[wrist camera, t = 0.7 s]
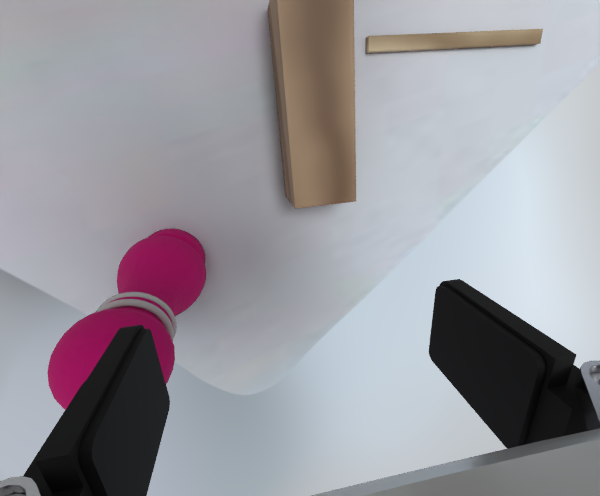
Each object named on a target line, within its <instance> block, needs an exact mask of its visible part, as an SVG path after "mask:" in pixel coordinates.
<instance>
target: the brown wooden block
mask: <svg viewBox="0 0 600 496" xmlns="http://www.w3.org/2000/svg"><path fill="white" fill-rule="evenodd" d="M268 17H269V27H270V37H271V48H272V58H273V69H274V79H275V89H276V100H277V110H278V121H279V131H280V142H281V152H282V162H283V173H284V183H285V194H286V197H287V198H288V200H289V201H290V202H291V204H292V205H293V206H294V208H295V209H296V208H304V207H312V206H321V205H329V204H337V203H345V202H354V201H356V153H355V70H354V0H270V1H269V6H268Z"/></svg>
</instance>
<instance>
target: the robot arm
mask: <svg viewBox="0 0 600 496" xmlns="http://www.w3.org/2000/svg"><path fill="white" fill-rule="evenodd" d="M429 354H430V357H431V360H432V361H433V362H434V363H435V365H436V366H437V367H438V368H439V369H440V370H441V372H442V373H443V374H444V375H445V376H446V377H447V379H448V380H449V381H450V382H451V383H452V385H453V386H454V387H455V388H456V389H457V390H458V391H459V393H460V394H461V395H462V396H463V397H464V399H465V400H466V401H467V402H468V403H469V404H470V406H471V407H472V408H473V409H474V410H475V412H476V413H477V414H478V415H479V416H480V417H481V419H482V420H483V421H484V422H485V423H486V424H487V425H488V427H489V428H490V429H491V430H492V431H493V433H494V434H495V435H496V436H497V437H498V438H499V440H500V441H502V443H503V444H504V445H505V447H507V448H508V449H504V450H500V451H496V452H492V453H488V454H483V455H479V456H474V457H470V458H467V459H462V460H457V461H453V462H449V463H445V464H441V465H437V466H433V467H429V468H424V469H420V470H416V471H411V472H407V473H403V474H399V475H395V476H391V477H387V478H382V479H378V480H374V481H370V482H366V483H361V484H357V485H353V486H349V487H345V488H341V489H337V490H332V491H329V492H324V493H320V494H316V495H312V496H600V361H589V362H585V363H584V364H583V365H582V366H581V368H580V369H579V368H577V367H576V366H574V365H573V363H574V360H575V357H576V354H574V353H573V352H571V351H570V350H568V349H566V348H565V347H564V346H562V345H560V344H559V343H557V342H556V341H554V340H553V339H551V338H550V337H548V336H547V335H545V334H544V333H542V332H540V331H539V330H537V329H536V328H534V327H533V326H531V325H530V324H528V323H527V322H525V321H523V320H522V319H520V318H519V317H517V316H516V315H514V314H513V313H511V312H510V311H508V310H507V309H505V308H503V307H502V306H500V305H499V304H497V303H496V302H494V301H493V300H491V299H490V298H488V297H487V296H485V295H483V294H482V293H480V292H479V291H477V290H476V289H474V288H473V287H471V286H469V285H468V284H467V283H465V282H464V281H462V280H460V279H457V280H450V281H443V282H442V283H441V284H440V286H439V287H437V289H436V293H435V302H434V310H433V319H432V328H431V336H430V345H429ZM169 405H170V401H169V395H168V391H167V387H166V384H165V380H164V376H163V372H162V369H161V365H160V361H159V358H158V354H157V350H156V347H155V343H154V339H153V336H152V332H151V330H150V329H145V328H144V326H143V325H135V326H128V327H122V328H120V329H119V330H118V331H117V333H116V334H115V336H114V337H113V339H112V341H111V342H110V344H109V345H108V347H107V349H106V350H105V352H104V353H103V355H102V356H101V358H100V360H99V361H98V363H97V364H96V366H95V367H94V369H93V371H92V372H91V374H90V375H89V377H88V378H87V380H86V381H85V382H84V383H83V384H82V385H81V387H80V388H79V390H78V391H77V393H76V395H75V396H74V398H73V399H72V401H71V402H70V404H69V405H68V407H67V409H66V410H65V412H64V413H63V415H62V416H61V418H60V419H59V421H58V423H57V424H56V426H55V427H54V429H53V430H52V432H51V433H50V435H49V437H48V438H47V440H46V442H45V443H44V444H43V446H42V448H41V449H40V451H39V452H38V454H37V455H36V457H35V459H34V460H33V462H32V463H31V465H30V466H29V468H28V469H27V471H26V473H25V474H24V476H20V477H12V478H8V479H5V480H3V481H0V496H146V495H147V491H148V487H149V483H150V479H151V476H152V472H153V468H154V464H155V461H156V456H157V453H158V449H159V445H160V442H161V438H162V434H163V430H164V426H165V423H166V419H167V415H168V411H169Z"/></svg>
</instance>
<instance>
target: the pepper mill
mask: <svg viewBox="0 0 600 496" xmlns="http://www.w3.org/2000/svg"><path fill="white" fill-rule="evenodd" d="M205 280H206V269H205V254H204V250H203V248H202V246H201V244H200V243H199V241H198V240H197V239H196V238H195V237H194V236H192V235H191V234H189V233H187V232H185V231H182V230H178V229H164V230H160V231H158V232H155V233H154V234H152V235H151V236H149V237H148V238H146V239H143V240H141V241H139V242H138V243H136V244H135V245H134V246H132V247H131V248H130V249H129V250H128V252H127V253H126V254H125V256H124V257H123V259H122V261H121V263H120V265H119V269H118V276H117V285H118V291H119V294H118V295H115V296H113V297H111V298H109V299H107V300H106V301H105V302H104V303H103V304H102V305H101V306H100V307H99V308H98V310H97V311H96V312H95V313H93V314H90V315H88V316H87V317H85V318H83V319H82V320H80V321H78V322H77V323H76V324H74V325H73V326H72V327H71V328H70V329H69V330H68V331H67V332H66V333H65V334H64V335H63V336H62V338H61V339H60V341H59V342H58V344H57V345H56V347H55V349H54V351H53V353H52V355H51V358H50V362H49V367H48V381H49V386H50V389H51V391H52V394H53V396H54V398H55V399H56V400H57V402H58V403H59V404H60V405H61V406H62V407H63V408H64V409H67V407H68V405H69V404H70V402H71V401H72V399H73V398H74V396H75V395H76V393H77V391H78V390H79V388H80V387H81V385H82V384H83V383H84V382H85V381H86V380H87V378H88V377H89V375H90V374H91V372H92V371H93V369H94V367H95V366H96V364H97V363H98V361H99V360H100V358H101V356H102V355H103V353H104V352H105V350H106V349H107V347H108V345H109V344H110V342H111V341H112V339H113V337H114V336H115V334H116V333H117V331H118V330H119V329H120V328H122V327H128V326H135V325H143V326H144V328H145V329H150V330H151V332H152V336H153V339H154V343H155V347H156V350H157V354H158V358H159V361H160V365H161V369H162V372H163V376H164V380H165V384H166V383H167V382H168V380H169V377H170V375H171V373H172V370H173V365H174V360H175V356H174V345H173V338H174V336H175V333H176V319H175V316H176V315H178V314H180V313H181V312H183V311H185V310H186V309H187V308H188V307H190V306H191V305H192V304H193V303H194V302H195V301H196V299H197V298H198V296H199V295H200V293H201V291H202V289H203V287H204V284H205Z"/></svg>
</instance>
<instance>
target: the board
mask: <svg viewBox="0 0 600 496" xmlns="http://www.w3.org/2000/svg"><path fill="white" fill-rule="evenodd" d="M542 31H543V29H529V30H504V31H480V32H456V33H432V34H408V35H383V36H368V37H367V38H366V53H382V52H402V51H422V50H442V49H462V48H483V47H503V46H523V45H536V44H539V43H540V42H541V36H542Z"/></svg>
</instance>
